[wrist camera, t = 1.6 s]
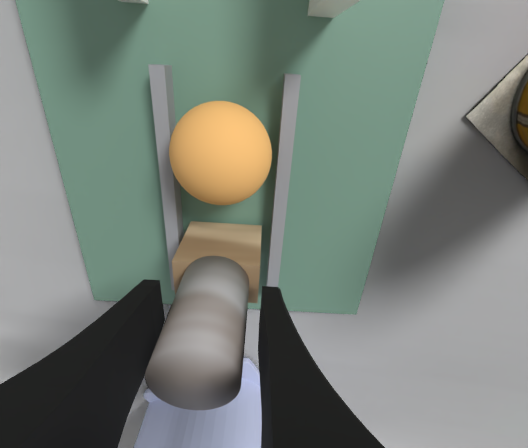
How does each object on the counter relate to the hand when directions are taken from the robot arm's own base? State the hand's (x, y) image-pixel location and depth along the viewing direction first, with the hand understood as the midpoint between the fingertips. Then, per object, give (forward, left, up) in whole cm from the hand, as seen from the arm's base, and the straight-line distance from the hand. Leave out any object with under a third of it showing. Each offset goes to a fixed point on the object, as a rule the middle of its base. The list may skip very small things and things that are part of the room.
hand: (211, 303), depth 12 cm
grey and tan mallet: (0, 0, -5) cm, 5 cm away
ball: (+2, +4, -3) cm, 6 cm away
